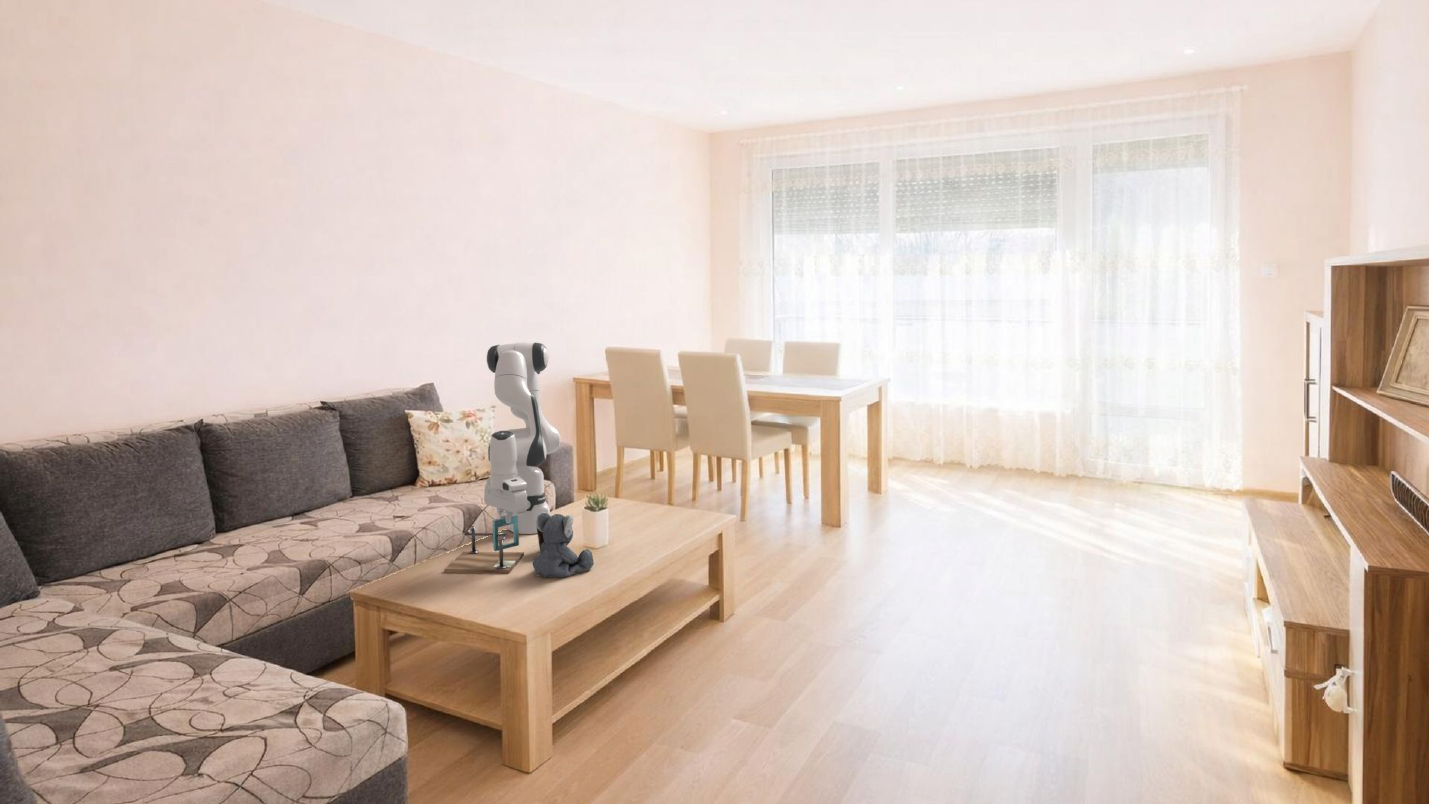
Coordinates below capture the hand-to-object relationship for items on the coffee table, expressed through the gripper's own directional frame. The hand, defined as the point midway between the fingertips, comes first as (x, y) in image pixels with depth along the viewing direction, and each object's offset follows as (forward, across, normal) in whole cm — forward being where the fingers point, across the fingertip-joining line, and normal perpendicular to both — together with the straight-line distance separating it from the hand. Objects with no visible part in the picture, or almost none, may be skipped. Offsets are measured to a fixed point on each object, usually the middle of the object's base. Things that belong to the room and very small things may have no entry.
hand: (505, 522), depth 283 cm
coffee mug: (+14, -1, +19) cm, 24 cm away
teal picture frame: (+9, 0, 0) cm, 9 cm away
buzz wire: (+13, -5, -4) cm, 15 cm away
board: (+14, -5, -5) cm, 16 cm away
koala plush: (+15, +18, +8) cm, 25 cm away
